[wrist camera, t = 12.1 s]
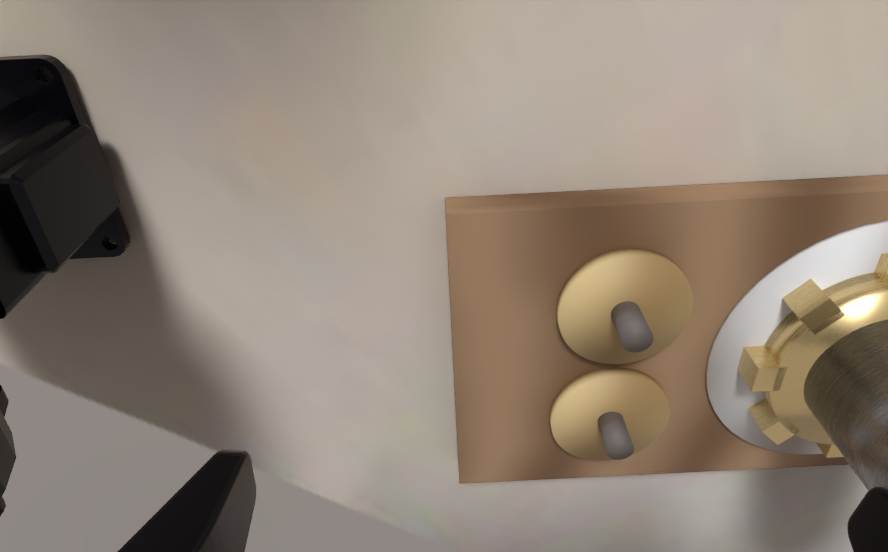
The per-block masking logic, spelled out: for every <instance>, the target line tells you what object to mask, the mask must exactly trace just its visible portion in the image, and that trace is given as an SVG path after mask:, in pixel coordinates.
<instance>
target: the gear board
mask: <svg viewBox="0 0 888 552" xmlns="http://www.w3.org/2000/svg"><path fill="white" fill-rule="evenodd" d="M445 210H446V229H447V249H448V269H449V288H450V308H451V328H452V347H453V367H454V387H455V406H456V426H457V445H458V465H459V483H476V482H497V481H517V480H538V479H558V478H579V477H599V476H620V475H641V474H661V473H682V472H702V471H723V470H743V469H764V468H784V467H805V466H825V465H846V464H849V463H848V462H847V460H846V459H845V458H844V457H831V458H826V457H825V456H824V454H823V453H822V451H821V450H820V448H819V447H818V445H817V444H816V443H815V442H812V441H809V440H806V439H803V438H801V437H799V436H797V435H794V436H792V437H790V438H789V439H787V440H785V441H784V442H782V443H780V444H779V445H777V444H776V443H775V442H773V441H772V440H771V439H770V438H769V437H768V436H766V435H765V434H764V433H763V432H762V431H761V429H760V428H759V426H758V424H757V423H756V421H755V419H754V418H753V416H752V414H751V413H750V411H749V408H750V407H752V406H753V405H755V404H757V403H758V402H760V401H761V400H763V399H765V398H764V396H763V395H762V393H761V391H759V392H751V390H750V389H749V387H748V385H747V384H746V382H745V381H744V379H743V378H742V376H741V374H740V373H739V371H738V370H737V369H738V365H739V362H740V358H741V355H742V351H743V348H744V347H748V346H764V345H765V343H766V342H767V340H768V338H769V336H770V335H771V334H772V332H773V331H774V330H775V328H776V327H777V326H778V325H779V324H780V322H781V321H782V320H783V319H784V318H785V317H786V316H787V315H788V314H789V313H791V312H792V309H791V308H790V307H789V306H788V305H787V304H786V302H785V301H784V300H783V299H782V298H783V297H785V296H786V295H788V294H789V293H790V292H792V291H793V290H795V289H796V288H798V287H799V286H801V285H802V284H803V283H805V282H806V281H808V280H809V279H812V280H813V281H814V282H815V283H816V284H817V285H818V286H819V288H820V289H821V290H824V289H826V288H828V287H830V286H832V285H834V284H837V283H839V282H842V281H844V280H847V279H850V278H853V277H856V276H859V275H863V274H868V273H873V272H874V271H875V269H876V266H877V264H878V261H879V258H880V256H881V253H888V175H874V176H855V177H835V178H816V179H797V180H778V181H759V182H740V183H720V184H701V185H682V186H663V187H644V188H625V189H605V190H586V191H567V192H548V193H529V194H510V195H490V196H471V197H452V198H445Z"/></svg>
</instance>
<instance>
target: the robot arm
mask: <svg viewBox="0 0 888 552" xmlns="http://www.w3.org/2000/svg"><path fill="white" fill-rule="evenodd" d="M42 67H43V68H46V69H47V70H49V71H50V73H51V74H52V76H53V81H49V80H48V79H46V78H45V77H44V75H43V74H42V70H41V68H42ZM119 204H120V200H119V197H118V195H117V192H116V189H115V186H114V184H113V181H112V178H111V176H110V173H109V170H108V167H107V165H106V162H105V159H104V157H103V154H102V151H101V148H100V146H99V143H98V140H97V137H96V135H95V132H94V131H93V130H92V129H91V128H90V127H89V126H88V124H87V122H86V119H85V116H84V114H83V111H82V108H81V106H80V103H79V100H78V98H77V95H76V92H75V89H74V87H73V84H72V81H71V79H70V76H69V73H68V71H67V69H66V67H65V66H64V64H63V63H62V62H60V61H59V60H58V59H57V58H55V57H53V56H49V55H29V56H11V57H0V319H2V318H4V317H5V316H6V315H7V314H8V313H9V312H10V311H11V310H12V309H13V308H14V307H15V306H16V305H17V304H18V303H19V302H20V301H21V300H22V299H23V298H24V297H25V296H26V295H27V294H28V293H29V292H30V291H31V290H32V289H33V287H34V286H35V285H36V284H37V283H38V282H39V281H40V280H41V279H42V278H43V277H44V276H45V275H46V274H47V273H54V272H56V271H58V270H59V268H60V267H61V266H62V265H63V264H64V263H65V262H66V261H67V260H68V259H76V258H96V257H115V256H119V255H121V254H122V253H123V252H124V251H125V250H126V249H127V247H128V246H129V243H130V238H129V235H128V232H127V229H126V227H125V224H124V221H123V219H122V216H121V213H120V211H119V208H118V205H119ZM107 237H111V238H113V239H114V240H115V241H116V242H117V244H113V243H111V242H109V240H108V239H107ZM7 406H8V398H7V396H6V394H5V392H4V390H3V388H2V386H1V385H0V516H1V514H2V513H3V512H4V509H5V506H6V505H5V501H4V499H3V497H2V495H3V493H4V491H5V489H6V486H7V483H8V480H9V477H10V474H11V471H12V468H13V465H14V462H15V459H16V454H15V448H14V443H13V437H12V432H11V430H10V428H9V426H8V425H7V422H6V420H5V418H4V416H5V413H6V409H7ZM255 499H256V485H255V479H254V474H253V468H252V463H251V458H250V455H249V454H248V452H246V451H237V450H221V451H219V452H217V453H216V454H215V455H214V456H213V457H212V458H211V459H210V460H209V461H208V462H207V463H206V464H205V465H204V466H203V467H202V468H201V469H200V470H199V471H198V472H197V473H196V474H195V475H194V476H193V477H192V478H191V479H190V480H189V481H188V482H187V483H186V484H185V485H184V486H183V487H182V488H181V489H180V490H179V491H178V492H177V493H176V494H175V495H174V496H173V497H172V498H171V499H170V500H169V501H168V502H167V503H166V504H165V505H164V506H163V507H162V508H161V509H160V510H159V511H158V512H157V513H156V514H155V515H154V516H153V517H152V518H151V519H150V520H149V521H148V522H147V523H146V524H145V525H144V526H143V527H142V528H141V529H140V530H139V531H138V532H137V533H136V534H135V535H134V536H133V537H132V538H131V539H130V540H129V541H128V542H127V543H126V544H125V545H124V546H123V547H122V548H121V549H120V550H119V551H118V552H244V551H245V546H246V541H247V537H248V532H249V527H250V523H251V519H252V514H253V510H254V505H255ZM848 535H849V539H850V542H851V545H852V548H853V551H854V552H888V487H884V486H876V487H873V488H871V489H870V490H869V491H868V492H867V494H866V495H865V497H864V498H863V499H862V501H861V502H860V504H859V505H858V507H857V508H856V509H855V511H854V512H853V514H852V515H851V517H850V518H849V521H848Z"/></svg>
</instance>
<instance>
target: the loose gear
mask: <svg viewBox="0 0 888 552" xmlns="http://www.w3.org/2000/svg"><path fill="white" fill-rule="evenodd" d="M782 299H783V300H784V301H785V302H786V304H787V305H788V306H789V307H790V308H791V309H792V312H791V313H789V314H788V315H787V316H786V317H785V318H784V319H783V320H782V321H781V322H780V324H779V325H778V326H777V327H776V328H775V330H774V331H773V332H772V334H771V335H770V336H769V338H768V340H767V342H766V343H765V345H764V346H748V347H744V348H743V351H742V355H741V358H740V362H739V365H738V369H737V370H738V371H739V373H740V374H741V376H742V378H743V379H744V381H745V382H746V384H747V385H748V387H749V389H750V390H751V392H759V391H761V393H762V395H763V396H764V398H765V399H763V400H761V401H760V402H758V403H757V404H755V405H753V406H752V407H750V408H749V411H750V413H751V414H752V416H753V418H754V419H755V421H756V423H757V424H758V426H759V428H760V429H761V431H762V432H763V433H764V434H765V435H766V436H768V437H769V438H770V439H771V440H772V441H773V442H775V443H776V444H777V445H779V444H780V443H782V442H784V441H785V440H787V439H789V438H790V437H792V436H794V435H797V436H799V437H801V438H803V439H806V440H809V441H812V442H815V443H816V444H817V445H818V447H819V448H820V450H821V451H822V453H823V454H824V456H825V457H826V458H831V457H844V458H845V459H846V460H847V462H848V463H849V465H850V466H851V467H852V469H853V470H854V472H855V473H856V474H857V476H858V477H859V478H860V480H861V481H862V483H863V484H864V485H865V487H866V488H867V490H868V491H869V490H870V489H871V488H873V487H876V486H884V487H888V253H881V256H880V258H879V261H878V264H877V266H876V269H875V271H874V272H873V273H868V274H863V275H859V276H856V277H853V278H850V279H847V280H844V281H842V282H839V283H837V284H834V285H832V286H830V287H828V288H826V289H824V290H821V289H820V288H819V286H818V285H817V284H816V283H815V282H814V281H813V280H812V279H809V280H808V281H806V282H805V283H803V284H802V285H801V286H799V287H798V288H796V289H795V290H793V291H792V292H790V293H789V294H788V295H786V296H785V297H783V298H782Z"/></svg>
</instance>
